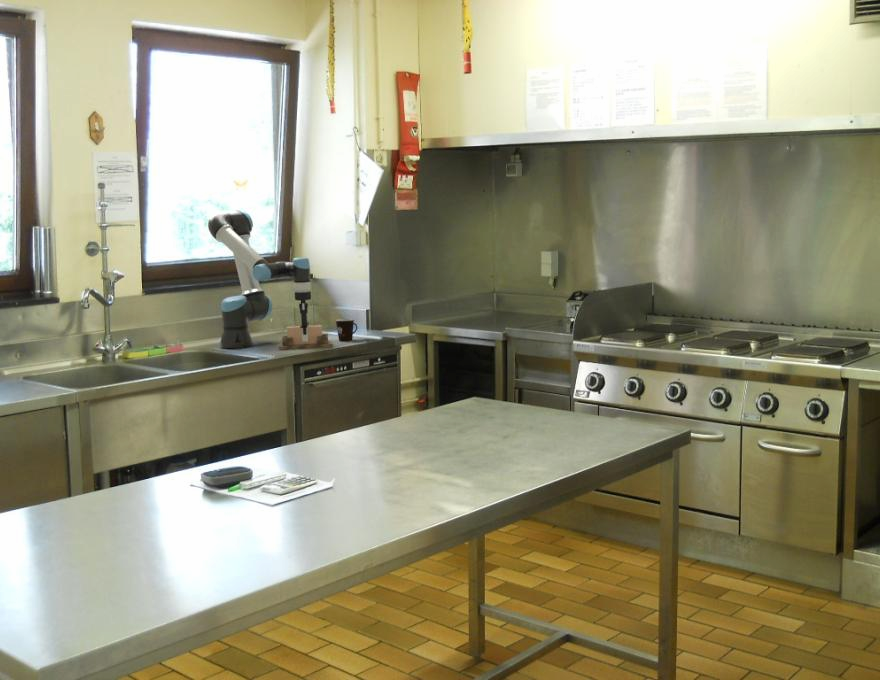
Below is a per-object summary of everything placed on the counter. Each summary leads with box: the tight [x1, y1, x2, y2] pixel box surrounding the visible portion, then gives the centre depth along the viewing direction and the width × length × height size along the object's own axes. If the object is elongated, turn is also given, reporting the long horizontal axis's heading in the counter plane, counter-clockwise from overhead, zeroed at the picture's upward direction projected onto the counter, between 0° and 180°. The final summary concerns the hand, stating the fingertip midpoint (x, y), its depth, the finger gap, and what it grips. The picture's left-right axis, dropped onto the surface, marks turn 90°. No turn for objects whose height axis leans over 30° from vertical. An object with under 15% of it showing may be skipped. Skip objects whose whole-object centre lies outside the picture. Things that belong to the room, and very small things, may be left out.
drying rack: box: [278, 333, 333, 351], centre depth 478 cm, size 24×12×5 cm, turn 97°
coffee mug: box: [335, 318, 358, 342], centre depth 492 cm, size 12×9×10 cm
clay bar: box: [286, 324, 323, 345], centre depth 478 cm, size 16×3×8 cm, turn 97°
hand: (305, 340), depth 478 cm, fingers open, 7 cm apart
